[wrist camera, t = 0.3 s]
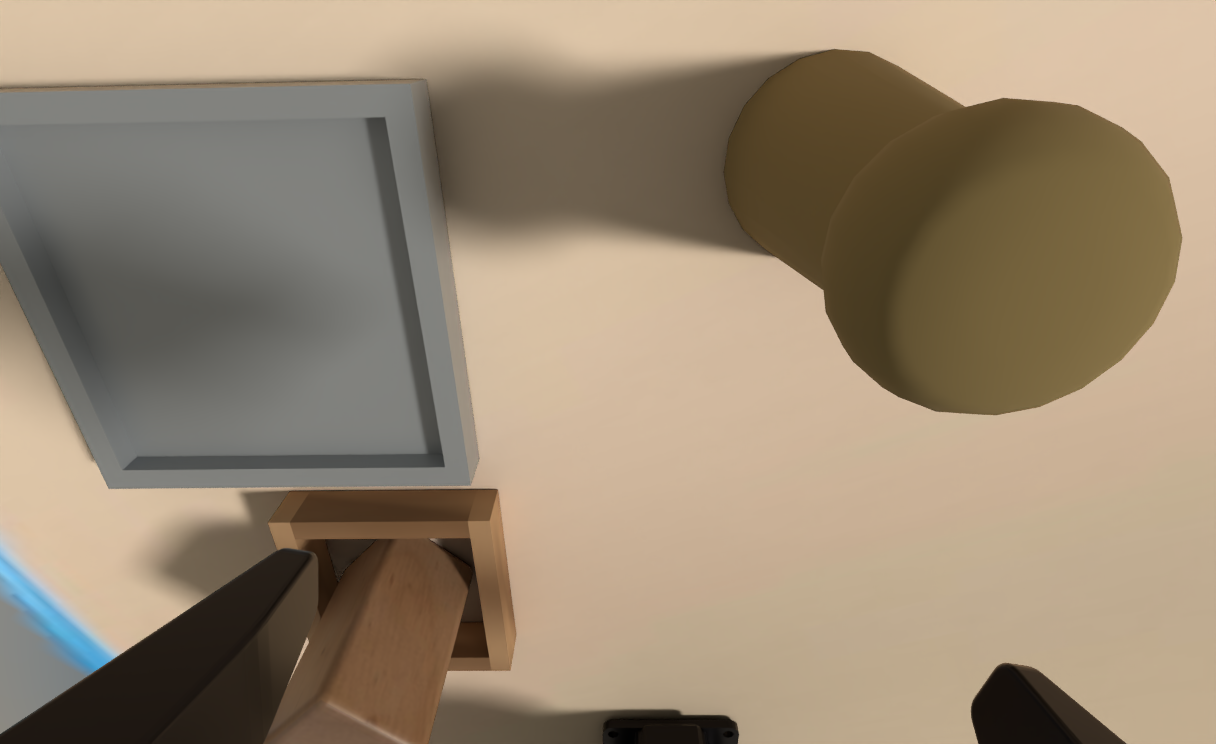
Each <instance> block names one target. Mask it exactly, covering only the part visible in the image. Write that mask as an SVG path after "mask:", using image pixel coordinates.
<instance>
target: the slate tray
mask: <svg viewBox="0 0 1216 744" xmlns="http://www.w3.org/2000/svg"><path fill="white" fill-rule="evenodd" d="M0 264H1V266H2V268H3V270H4V272H5V274H6V276H7V278H8V280H9V282H10V284H11V287H12V289H13V291H14V293H15V295H16V297H17V299H18V301H19V303H20V305H21V307H22V309H23V311H24V314H25V316H26V318H27V320H28V322H29V324H30V326H31V328H32V330H33V332H34V334H35V336H36V339H37V341H38V343H39V345H40V347H41V349H42V351H43V353H44V355H45V357H46V359H47V361H48V363H49V366H50V368H51V370H52V372H53V374H54V376H55V378H56V380H57V382H58V384H59V386H60V388H61V391H62V393H63V395H64V397H65V399H66V401H67V403H68V405H69V407H70V409H71V411H72V413H73V415H74V418H75V420H76V422H77V424H78V426H79V428H80V430H81V432H82V434H83V436H84V438H85V440H86V442H87V445H88V447H89V449H90V451H91V453H92V455H93V457H94V459H95V461H96V463H97V465H98V467H99V470H100V472H101V474H102V476H103V478H104V480H105V482H106V484H107V486H108V488H109V489H133V488H248V487H363V486H471V483H472V480H473V477H474V474H475V471H476V468H477V465H478V462H479V453H478V446H477V438H476V431H475V424H474V417H473V410H472V403H471V395H470V388H469V381H468V374H467V367H466V360H465V352H464V345H463V338H462V331H461V324H460V317H459V309H458V302H457V295H456V288H455V281H454V274H453V267H452V259H451V252H450V245H449V238H448V231H447V224H446V216H445V209H444V202H443V195H442V188H441V181H440V173H439V166H438V159H437V152H436V145H435V138H434V130H433V123H432V116H431V109H430V102H429V95H428V87H427V80H426V79H409V80H364V81H319V82H274V83H228V84H183V85H138V86H93V87H48V88H3V89H0Z"/></svg>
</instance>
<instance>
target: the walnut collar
mask: <svg viewBox="0 0 1216 744" xmlns="http://www.w3.org/2000/svg"><path fill="white" fill-rule="evenodd" d="M268 525H269V528H270V531H271V534H272V536H273V539H274V542H275V545H276V548H277V551H278V550H280V549H283V548H291V549H297V550H304V551H310V552H313V553H315V554H316V555H317V558H318V606H317V610H316V614H315V617H314V620H313V623H312V625H311V628H310V630H309V633H308V635H307V637H308V640H309V642H310V640H311V638H312V636H313V634H314V632H315V630H316V628H317V626H318V624H319V622H320V620H321V618H322V616H323V614H324V612H325V609H326V607H327V605H328V603H329V601H330V599H331V597H332V595H333V593H334V591H335V589H336V587H337V585H338V583H337V579H336V576H335V572H334V569H333V566H332V562H331V559H330V556H329V552H328V549H327V546H326V542H325V539H412V538H470V539H471V545H472V552H473V558H474V564H475V571H476V577H477V583H478V589H479V596H480V602H481V608H482V615H483V621H484V622H469V623H460V625H459V628H458V632H457V636H456V640H455V644H454V647H453V651H452V655H451V659H450V663H449V666H448V670H447V671H508V670H511V664H512V658H513V652H514V646H515V640H516V629H515V621H514V613H513V605H512V597H511V589H510V581H509V573H508V566H507V558H506V550H505V542H504V534H503V526H502V518H501V510H500V502H499V494H498V490H388V491H290V492H289V493H288V495H287V496H286V497H285V499H284V500H283V502H282V503H281V505H280V506H279V507H278V509H277V510H276V512H275V513H274V515H273V516H272V517H271V519H270V520H269V522H268Z"/></svg>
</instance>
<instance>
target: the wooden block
mask: <svg viewBox="0 0 1216 744" xmlns="http://www.w3.org/2000/svg"><path fill="white" fill-rule="evenodd" d="M472 575H473V573H472V569H471V568H470V567H469V565H467V564H466V563H464V562H463V561H461V560H460V559H458V558H457V557H455V556H454V555H452V554H451V553H449V552H447V551H446V550H444V549H443V548H441V547H440V546H438V545H437V544H435V543H434V542H432V541H431V540H429V539H428V538H412V539H377V540H376V541H375V542H374V543H373V544H372V545H371V546H370V547H369V548H368V549H367V550H366V551H365V552H363V553H362V554H361V555H360V556H359V557H358V558H357V559H356V560H355V561H354V562H353V563H352V564H351V565H350V566H349V567H348V568H347V569H346V570H345V571H344V573H343V575H342V577H341V579H340V581H339V583H338V585H337V587H336V589H335V591H334V593H333V595H332V597H331V599H330V601H329V603H328V605H327V607H326V609H325V612H324V614H323V616H322V618H321V620H320V622H319V624H318V626H317V628H316V630H315V632H314V634H313V636H312V638H311V640H310V642H309V644H308V646H307V648H306V650H305V652H304V654H303V656H302V658H301V660H300V662H299V664H298V666H297V668H296V670H295V672H294V674H293V676H292V678H291V680H290V682H289V684H288V686H287V688H286V690H285V693H284V695H283V698H282V700H281V703H280V705H279V708H278V710H277V713H276V715H275V718H274V720H273V723H272V725H271V728H270V730H269V732H268V735H267V737H266V739H265V742H264V744H428V743H429V739H430V735H431V731H432V727H433V724H434V720H435V716H436V712H437V708H438V704H439V701H440V697H441V693H442V689H443V685H444V682H445V678H446V674H447V670H448V666H449V663H450V659H451V655H452V651H453V647H454V644H455V640H456V636H457V632H458V628H459V625H460V621H461V617H462V613H463V609H464V606H465V602H466V598H467V594H468V590H469V587H470V583H471V579H472Z"/></svg>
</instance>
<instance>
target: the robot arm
mask: <svg viewBox="0 0 1216 744" xmlns="http://www.w3.org/2000/svg"><path fill="white" fill-rule="evenodd" d="M317 606H318V558H317V555H316V554H315V553H313V552H310V551H304V550H297V549H291V548H283V549H280V550H278V551H276V552H274V553H273V554H271V555H270V556H268V557H267V558H265V559H264V560H262V561H261V562H259V563H258V564H256V565H255V566H253V567H252V568H250V569H249V570H247V571H246V572H244V573H243V574H241V575H240V576H238V577H236V578H235V579H233V580H232V581H230V582H229V583H227V584H226V585H224V586H223V587H221V588H220V589H218V590H217V591H215V592H214V593H212V594H211V595H209V596H208V597H206V598H205V599H203V600H202V601H200V602H199V603H197V604H196V605H194V606H193V607H191V608H190V609H188V610H187V611H185V612H184V613H182V614H181V615H179V616H178V617H176V618H175V619H173V620H172V621H170V622H169V623H167V624H166V625H164V626H163V627H161V628H160V629H158V630H157V631H155V632H154V633H152V634H151V635H149V636H147V637H146V638H144V639H143V640H141V641H140V642H138V643H137V644H135V645H134V646H132V647H131V648H129V649H128V650H126V651H125V652H123V653H122V654H120V655H119V656H117V657H116V658H114V659H113V660H111V661H110V662H108V663H107V664H105V665H104V666H102V667H101V668H99V669H98V670H96V671H95V672H93V673H92V674H90V675H89V676H87V677H86V678H84V679H83V680H81V681H80V682H78V683H77V684H75V685H74V686H72V687H71V688H69V689H68V690H66V691H65V692H63V693H62V694H60V695H59V696H57V697H55V698H54V699H52V700H51V701H49V702H48V703H46V704H45V705H43V706H42V707H41V708H39V709H37V710H36V711H34V712H33V713H31V714H30V715H28V716H27V717H25V718H24V719H22V720H21V721H19V722H18V723H16V724H15V725H13V726H12V727H10V728H9V729H7V730H6V731H4V732H3V733H1V734H0V744H264V742H265V739H266V737H267V735H268V732H269V730H270V728H271V725H272V723H273V720H274V718H275V715H276V713H277V710H278V708H279V705H280V703H281V700H282V698H283V695H284V693H285V690H286V688H287V685H288V683H289V680H290V678H291V675H292V673H293V670H294V668H295V665H296V663H297V660H298V658H299V655H300V653H301V650H302V648H303V645H304V643H305V640H306V638H307V635H308V633H309V630H310V628H311V625H312V623H313V620H314V617H315V614H316V610H317ZM971 718H972V722H973V726H974V730H975V733H976V737H977V741H978V744H1126V743H1125V742H1124V741H1123V740H1121V739H1120V738H1119V737H1118V736H1117V735H1115V734H1114V733H1113V732H1112V731H1111V730H1109V729H1108V728H1107V727H1106V726H1105V725H1103V724H1102V723H1101V722H1100V721H1099V720H1097V719H1096V718H1095V717H1094V716H1093V715H1091V714H1090V713H1089V712H1088V711H1087V710H1085V709H1084V708H1083V707H1082V706H1081V705H1079V704H1078V703H1077V702H1076V701H1075V700H1073V699H1072V698H1071V697H1070V696H1069V695H1067V694H1066V693H1065V692H1064V691H1063V690H1061V689H1060V688H1059V687H1058V686H1057V685H1055V684H1054V683H1053V682H1052V681H1051V680H1049V679H1048V678H1047V677H1046V676H1045V675H1043V674H1042V673H1041V672H1040V671H1038V670H1037V669H1035V668H1032V667H1029V666H1023V665H1017V664H1011V663H1002V664H1000V665H998V666H997V667H996V668H995V669H994V671H993V672H992V674H991V675H990V676H989V678H988V679H987V681H986V682H985V684H984V685H983V686H982V688H981V689H980V691H979V692H978V693H977V695H976V696H975V698H974V700H973V702H972V706H971ZM738 737H739V732H738V727H737V723H736V722H734V721H732V720H609V721H607V722H605V723H604V724H603V744H738Z"/></svg>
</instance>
